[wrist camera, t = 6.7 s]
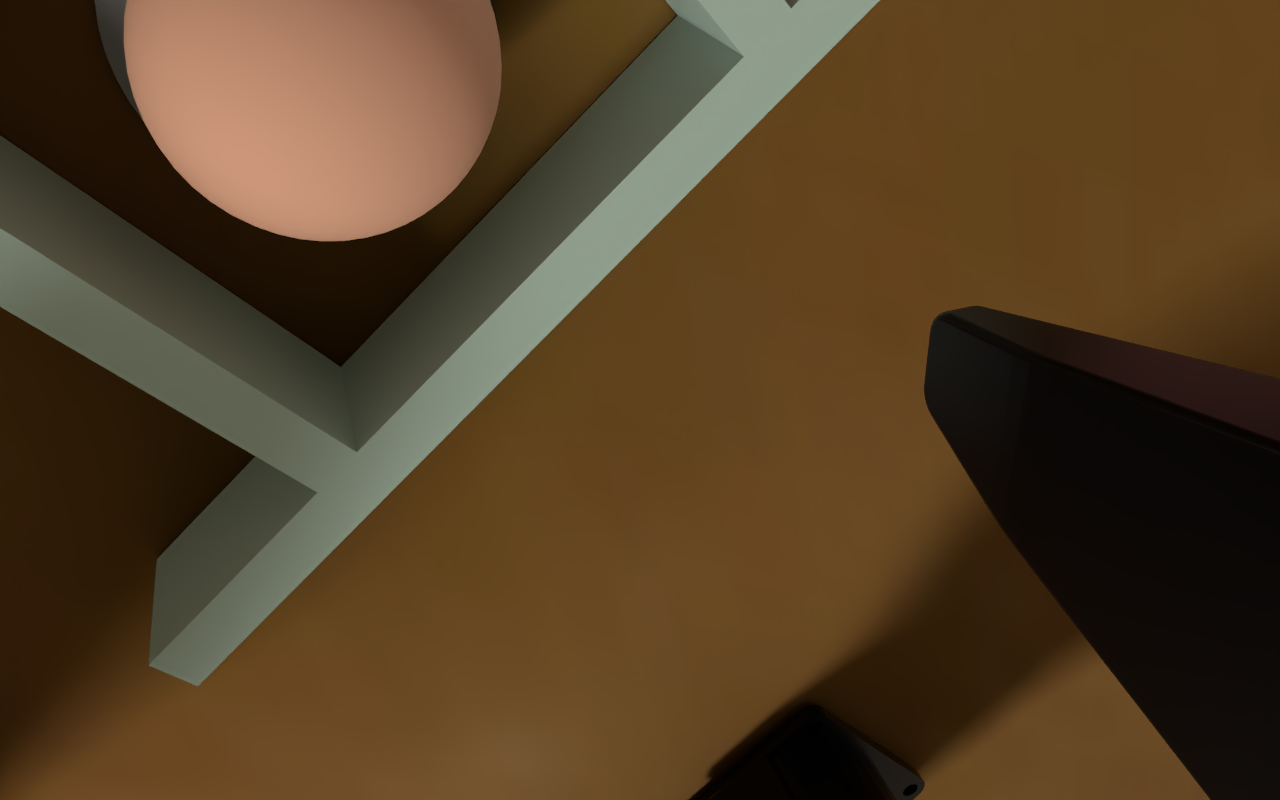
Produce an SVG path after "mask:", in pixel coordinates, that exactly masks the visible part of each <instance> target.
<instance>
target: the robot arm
mask: <svg viewBox="0 0 1280 800" xmlns="http://www.w3.org/2000/svg"><path fill="white" fill-rule="evenodd" d="M924 393H925V400H926V404H927V407H928V409H929V411H930V413H931V415H932V417H933V419H934V420H935V422H936V424H937V425H938V427H939V428H940V430H941V432H942V433H943V435H944V437H945V438H946V440H947V442H948V443H949V445H950V446H951V448H952V450H953V451H954V453H955V455H956V456H957V458H958V460H959V461H960V463H961V464H962V466H963V468H964V469H965V471H966V473H967V474H968V476H969V478H970V479H971V481H972V482H973V484H974V486H975V487H976V489H977V491H978V492H979V494H980V496H981V497H982V499H983V501H984V502H985V504H986V505H987V507H988V509H989V510H990V512H991V513H992V515H993V516H994V518H995V519H996V521H997V522H998V524H999V525H1000V527H1001V528H1002V530H1003V531H1004V533H1005V534H1006V535H1007V537H1008V538H1009V539H1010V541H1011V542H1012V544H1013V545H1014V546H1015V548H1016V549H1017V550H1018V552H1019V553H1020V554H1021V555H1022V557H1023V558H1024V559H1025V561H1026V562H1027V563H1028V565H1029V566H1030V567H1031V568H1032V570H1033V571H1034V572H1035V574H1036V575H1037V576H1038V577H1039V579H1040V580H1041V581H1042V583H1043V584H1044V585H1045V586H1046V588H1047V589H1048V590H1049V592H1050V593H1051V594H1052V596H1053V597H1054V598H1055V599H1056V601H1057V602H1058V603H1059V605H1060V606H1061V607H1062V608H1063V610H1064V611H1065V612H1066V614H1067V615H1068V616H1069V617H1070V619H1071V620H1072V621H1073V623H1074V624H1075V625H1076V627H1077V628H1078V629H1079V630H1080V632H1081V633H1082V634H1083V636H1084V637H1085V638H1086V639H1087V641H1088V642H1089V643H1090V645H1091V646H1092V647H1093V648H1094V650H1095V651H1096V652H1097V654H1098V655H1099V656H1100V658H1101V659H1102V660H1103V661H1104V663H1105V664H1106V665H1107V667H1108V668H1109V669H1110V670H1111V672H1112V673H1113V674H1114V676H1115V677H1116V678H1117V679H1118V681H1119V682H1120V683H1121V685H1122V686H1123V687H1124V689H1125V690H1126V691H1127V692H1128V694H1129V695H1130V696H1131V698H1132V699H1133V700H1134V701H1135V703H1136V704H1137V705H1138V707H1139V708H1140V709H1141V710H1142V712H1143V713H1144V714H1145V716H1146V717H1147V718H1148V720H1149V721H1150V722H1151V723H1152V725H1153V726H1154V727H1155V729H1156V730H1157V731H1158V732H1159V734H1160V735H1161V736H1162V738H1163V739H1164V740H1165V741H1166V743H1167V744H1168V745H1169V747H1170V748H1171V749H1172V751H1173V752H1174V753H1175V754H1176V756H1177V757H1178V758H1179V760H1180V761H1181V762H1182V763H1183V765H1184V766H1185V767H1186V769H1187V770H1188V771H1189V772H1190V774H1191V775H1192V776H1193V778H1194V779H1195V780H1196V782H1197V783H1198V784H1199V785H1200V787H1201V788H1202V789H1203V791H1204V792H1205V793H1206V794H1207V796H1208V797H1209V798H1210V800H1280V379H1278V378H1274V377H1269V376H1265V375H1261V374H1257V373H1253V372H1249V371H1245V370H1241V369H1237V368H1232V367H1228V366H1224V365H1220V364H1216V363H1212V362H1208V361H1204V360H1200V359H1195V358H1191V357H1187V356H1183V355H1179V354H1175V353H1171V352H1167V351H1162V350H1158V349H1154V348H1150V347H1146V346H1142V345H1138V344H1134V343H1130V342H1125V341H1121V340H1117V339H1113V338H1109V337H1105V336H1101V335H1097V334H1093V333H1088V332H1084V331H1080V330H1076V329H1072V328H1068V327H1064V326H1060V325H1056V324H1051V323H1047V322H1043V321H1039V320H1035V319H1031V318H1027V317H1023V316H1019V315H1014V314H1010V313H1006V312H1002V311H998V310H994V309H990V308H986V307H982V306H970V307H965V308H960V309H956V310H951V311H946V312H943V313H940V314H939V315H938V316H937V317H936V318H935V319H934V321H933V323H932V326H931V331H930V338H929V347H928V356H927V365H926V374H925V383H924ZM924 784H925V783H924V781H923V780H922V778H921V777H920V775H919V774H918V772H917V771H916V770H915V769H914V768H912V767H911V766H909V765H908V764H906V763H905V762H903V761H902V760H900V759H899V758H897V757H896V756H894V755H893V754H891V753H890V752H888V751H887V750H885V749H884V748H882V747H881V746H879V745H878V744H876V743H875V742H873V741H872V740H870V739H869V738H867V737H866V736H864V735H863V734H861V733H860V732H858V731H857V730H855V729H854V728H852V727H851V726H849V725H848V724H846V723H845V722H843V721H842V720H840V719H839V718H837V717H836V716H834V715H833V714H831V713H830V712H828V711H827V710H825V709H824V708H822V707H821V706H818V705H810V706H807V707H805V708H803V709H801V710H800V711H799V712H797V713H796V714H795V715H794V716H793V717H792V718H791V719H789V720H788V721H787V722H786V723H785V724H784V725H783V726H781V727H780V728H779V729H778V730H777V731H776V732H775V733H774V734H772V735H771V736H770V737H769V738H768V739H767V740H766V741H764V742H763V743H762V744H761V745H760V746H759V747H758V748H757V749H755V750H754V751H753V752H752V753H751V754H750V755H749V756H747V757H746V758H745V759H744V760H743V761H742V762H741V763H740V764H738V765H737V766H736V767H735V768H734V769H733V770H732V771H730V772H729V773H728V774H727V775H726V776H725V777H724V778H723V779H721V780H720V781H719V782H718V783H717V784H716V785H715V786H713V787H712V788H711V789H710V790H709V791H708V792H707V793H705V794H704V795H703V796H702V797H701V798H700V799H699V800H913V799H914V798H915V797H917V796H918V795H919V794H920V793H921V792H922V790H923V788H924Z"/></svg>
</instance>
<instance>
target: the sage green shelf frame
mask: <svg viewBox="0 0 1280 800" xmlns="http://www.w3.org/2000/svg"><path fill="white" fill-rule="evenodd" d="M665 1H666V2H667V3H668V4H669V6H670V7H671V8H672V9H673V10H674V11H675V13H676V14H677V16H676V18H675V19H674V20H673V21H672V22H671V23H670V24H669V25H668V26H667V27H666V28H665V29H664V30H663V31H662V32H661V33H660V34H659V35H658V36H657V37H656V38H655V39H654V40H653V42H652V43H651V44H650V45H649V46H648V47H647V48H646V49H645V50H644V51H643V52H642V53H641V54H640V55H639V56H638V57H637V58H636V59H635V60H634V61H633V62H632V63H631V65H630V66H629V67H628V68H627V69H626V70H625V71H624V72H623V73H622V74H621V75H620V76H619V77H618V78H617V79H616V80H615V81H614V82H613V83H612V84H611V85H610V86H609V87H608V89H607V90H606V91H605V92H604V93H603V94H602V95H601V96H600V97H599V98H598V99H597V100H596V101H595V102H594V103H593V104H592V105H591V106H590V107H589V108H588V109H587V110H586V112H585V113H584V114H583V115H582V116H581V117H580V118H579V119H578V120H577V121H576V122H575V123H574V124H573V125H572V126H571V127H570V128H569V129H568V130H567V131H566V132H565V133H564V134H563V136H562V137H561V138H560V139H559V140H558V141H557V142H556V143H555V144H554V145H553V146H552V147H551V148H550V149H549V150H548V151H547V152H546V153H545V154H544V155H543V156H542V157H541V158H540V160H539V161H538V162H537V163H536V164H535V165H534V166H533V167H532V168H531V169H530V170H529V171H528V172H527V173H526V174H525V175H524V176H523V177H522V178H521V179H520V180H519V181H518V183H517V184H516V185H515V186H514V187H513V188H512V189H511V190H510V191H509V192H508V193H507V194H506V195H505V196H504V197H503V198H502V199H501V200H500V201H499V202H498V203H497V204H496V205H495V207H494V208H493V209H492V210H491V211H490V212H489V213H488V214H487V215H486V216H485V217H484V218H483V219H482V220H481V221H480V222H479V223H478V224H477V225H476V226H475V227H474V228H473V230H472V231H471V232H470V233H469V234H468V235H467V236H466V237H465V238H464V239H463V240H462V241H461V242H460V243H459V244H458V245H457V246H456V247H455V248H454V249H453V250H452V251H451V252H450V254H449V255H448V256H447V257H446V258H445V259H444V260H443V261H442V262H441V263H440V264H439V265H438V266H437V267H436V268H435V269H434V270H433V271H432V272H431V273H430V274H429V275H428V276H427V278H426V279H425V280H424V281H423V282H422V283H421V284H420V285H419V286H418V287H417V288H416V289H415V290H414V291H413V292H412V293H411V294H410V295H409V296H408V297H407V298H406V299H405V301H404V302H403V303H402V304H401V305H400V306H399V307H398V308H397V309H396V310H395V311H394V312H393V313H392V314H391V315H390V316H389V317H388V318H387V319H386V320H385V321H384V322H383V323H382V325H381V326H380V327H379V328H378V329H377V330H376V331H375V332H374V333H373V334H372V335H371V336H370V337H369V338H368V339H367V340H366V341H365V342H364V343H363V344H362V345H361V346H360V348H359V349H358V350H357V351H356V352H355V353H354V354H353V355H352V356H351V357H350V358H349V359H348V360H347V361H346V362H345V363H344V364H343V365H342V366H341V367H340V366H339V365H337V364H336V363H334V362H333V361H331V360H330V359H328V358H327V357H325V356H324V355H322V354H321V353H319V352H318V351H317V350H315V349H314V348H312V347H311V346H309V345H308V344H306V343H305V342H303V341H302V340H300V339H299V338H297V337H296V336H294V335H293V334H292V333H290V332H289V331H287V330H286V329H284V328H283V327H281V326H280V325H278V324H277V323H275V322H274V321H272V320H271V319H269V318H268V317H267V316H265V315H264V314H262V313H261V312H259V311H258V310H256V309H255V308H253V307H252V306H250V305H249V304H247V303H246V302H244V301H243V300H242V299H240V298H239V297H237V296H236V295H234V294H233V293H231V292H230V291H228V290H227V289H225V288H224V287H222V286H221V285H219V284H218V283H217V282H215V281H214V280H212V279H211V278H209V277H208V276H206V275H205V274H203V273H202V272H200V271H199V270H197V269H196V268H194V267H193V266H192V265H190V264H189V263H187V262H186V261H184V260H183V259H181V258H180V257H178V256H177V255H175V254H174V253H172V252H171V251H169V250H168V249H167V248H165V247H164V246H162V245H161V244H159V243H158V242H156V241H155V240H153V239H152V238H150V237H149V236H147V235H146V234H144V233H143V232H142V231H140V230H139V229H137V228H136V227H134V226H133V225H131V224H130V223H128V222H127V221H125V220H124V219H122V218H121V217H119V216H118V215H116V214H115V213H114V212H112V211H111V210H109V209H108V208H106V207H105V206H103V205H102V204H100V203H99V202H97V201H96V200H94V199H93V198H91V197H90V196H89V195H87V194H86V193H84V192H83V191H81V190H80V189H78V188H77V187H75V186H74V185H72V184H71V183H69V182H68V181H66V180H65V179H64V178H62V177H61V176H59V175H58V174H56V173H55V172H53V171H52V170H50V169H49V168H47V167H46V166H44V165H43V164H41V163H40V162H39V161H37V160H36V159H34V158H33V157H31V156H30V155H28V154H27V153H25V152H24V151H22V150H21V149H19V148H18V147H16V146H15V145H14V144H12V143H11V142H9V141H8V140H6V139H5V138H3V137H2V136H0V307H1V308H3V309H5V310H6V311H8V312H10V313H12V314H13V315H15V316H17V317H18V318H20V319H22V320H24V321H25V322H27V323H29V324H30V325H32V326H34V327H36V328H37V329H39V330H41V331H42V332H44V333H46V334H47V335H49V336H51V337H53V338H54V339H56V340H58V341H59V342H61V343H63V344H65V345H66V346H68V347H70V348H71V349H73V350H75V351H76V352H78V353H80V354H82V355H83V356H85V357H87V358H88V359H90V360H92V361H94V362H95V363H97V364H99V365H100V366H102V367H104V368H106V369H107V370H109V371H111V372H112V373H114V374H116V375H117V376H119V377H121V378H123V379H124V380H126V381H128V382H129V383H131V384H133V385H135V386H136V387H138V388H140V389H141V390H143V391H145V392H146V393H148V394H150V395H152V396H153V397H155V398H157V399H158V400H160V401H162V402H164V403H165V404H167V405H169V406H170V407H172V408H174V409H176V410H177V411H179V412H181V413H182V414H184V415H186V416H187V417H189V418H191V419H193V420H194V421H196V422H198V423H199V424H201V425H203V426H205V427H206V428H208V429H210V430H211V431H213V432H215V433H216V434H218V435H220V436H222V437H223V438H225V439H227V440H228V441H230V442H232V443H234V444H235V445H237V446H239V447H240V448H242V449H244V450H245V451H247V452H249V453H251V454H252V455H254V456H255V457H254V458H253V459H252V460H251V461H250V462H249V463H248V464H247V466H246V467H245V468H244V469H243V470H242V471H241V472H240V473H239V474H238V475H237V476H236V477H235V478H234V479H233V480H232V481H231V482H230V483H229V484H228V485H227V486H226V487H225V488H224V490H223V491H222V492H221V493H220V494H219V495H218V496H217V497H216V498H215V499H214V500H213V501H212V502H211V503H210V504H209V505H208V506H207V507H206V508H205V509H204V510H203V511H202V512H201V514H200V515H199V516H198V517H197V518H196V519H195V520H194V521H193V522H192V523H191V524H190V525H189V526H188V527H187V528H186V529H185V530H184V531H183V532H182V533H181V534H180V535H179V537H178V538H177V539H176V540H175V541H174V542H173V543H172V544H171V545H170V546H169V547H168V548H167V549H166V550H165V551H164V552H163V553H162V554H161V555H160V556H159V557H158V558H157V562H156V574H155V587H154V600H153V613H152V625H151V638H150V651H149V664H148V666H151V667H153V668H155V669H158V670H160V671H162V672H165V673H167V674H170V675H172V676H174V677H177V678H179V679H181V680H184V681H186V682H188V683H191V684H193V685H196V686H199V685H200V684H201V683H202V682H203V681H204V680H205V679H206V678H207V677H208V676H209V675H210V674H211V673H212V672H213V671H214V670H215V669H216V668H217V667H218V666H219V665H220V664H221V663H222V662H223V661H224V660H225V659H226V657H227V656H228V655H229V654H230V653H231V652H232V651H233V650H234V649H235V648H236V647H237V646H238V645H239V644H240V643H241V642H242V641H243V640H244V639H245V638H246V637H247V636H248V635H249V634H250V633H251V632H252V631H253V630H254V629H255V628H256V627H257V626H258V625H259V624H260V623H261V622H262V621H263V620H264V619H265V618H266V617H267V616H268V615H269V614H270V613H271V612H272V611H273V610H274V609H275V608H276V607H277V606H278V605H279V604H280V603H281V602H282V601H283V600H284V599H285V598H286V597H287V596H288V595H289V594H290V593H291V592H292V591H293V590H294V589H295V588H296V587H297V586H298V585H299V584H300V583H301V582H302V581H303V580H304V579H305V578H306V577H307V576H308V575H309V574H310V573H311V572H312V571H313V570H314V569H315V568H316V567H317V566H318V565H319V564H320V563H321V562H322V561H323V560H324V559H325V558H326V557H327V556H328V555H329V554H330V553H331V552H332V551H333V550H334V549H335V548H336V547H337V546H338V545H339V544H340V543H341V542H342V541H343V540H344V539H345V538H346V537H347V536H348V535H349V534H350V533H351V532H352V531H353V530H354V529H355V528H356V527H357V526H358V525H359V524H360V523H361V522H362V521H363V520H364V519H365V518H366V517H367V516H368V515H369V514H370V513H371V512H372V511H373V510H374V509H375V508H376V507H377V506H378V505H379V504H380V503H381V502H382V501H383V500H384V499H385V498H386V497H387V496H388V494H389V493H390V492H391V491H392V490H393V489H394V488H395V487H396V486H397V485H398V484H399V483H400V482H401V481H402V480H403V479H404V478H405V477H406V476H407V475H408V474H409V473H410V472H411V471H412V470H413V469H414V468H415V467H416V466H417V465H418V464H419V463H420V462H421V461H422V460H423V459H424V458H425V457H426V456H427V455H428V454H429V453H430V452H431V451H432V450H433V449H434V448H435V447H436V446H437V445H438V444H439V443H440V442H441V441H442V440H443V439H444V438H445V437H446V436H447V435H448V434H449V433H450V432H451V431H452V430H453V429H454V428H455V427H456V426H457V425H458V424H459V423H460V422H461V421H462V420H463V419H464V418H465V417H466V416H467V415H468V414H469V413H470V412H471V411H472V410H473V409H474V408H475V407H476V406H477V405H478V404H479V403H480V402H481V401H482V400H483V399H484V398H485V397H486V396H487V395H488V394H489V393H490V392H491V391H492V390H493V389H494V388H495V387H496V386H497V385H498V384H499V383H500V382H501V381H502V380H503V379H504V378H505V377H506V376H507V375H508V374H509V373H510V372H511V371H512V370H513V369H514V368H515V367H516V366H517V365H518V364H519V363H520V362H521V361H522V360H523V359H524V358H525V357H526V356H527V355H528V354H529V353H530V352H531V351H532V350H533V349H534V348H535V347H536V346H537V345H538V344H539V343H540V342H541V341H542V340H543V339H544V338H545V337H546V336H547V335H548V334H549V333H550V331H551V330H552V329H553V328H554V327H555V326H556V325H557V324H558V323H559V322H560V321H561V320H562V319H563V318H564V317H565V316H566V315H567V314H568V313H569V312H570V311H571V310H572V309H573V308H574V307H575V306H576V305H577V304H578V303H579V302H580V301H581V300H582V299H583V298H584V297H585V296H586V295H587V294H588V293H589V292H590V291H591V290H592V289H593V288H594V287H595V286H596V285H597V284H598V283H599V282H600V281H601V280H602V279H603V278H604V277H605V276H606V275H607V274H608V273H609V272H610V271H611V270H612V269H613V268H614V267H615V266H616V265H617V264H618V263H619V262H620V261H621V260H622V259H623V258H624V257H625V256H626V255H627V254H628V253H629V252H630V251H631V250H632V249H633V248H634V247H635V246H636V245H637V244H638V243H639V242H640V241H641V240H642V239H643V238H644V237H645V236H646V235H647V234H648V233H649V232H650V231H651V230H652V229H653V228H654V227H655V226H656V225H657V224H658V223H659V222H660V221H661V220H662V219H663V218H664V217H665V216H666V215H667V214H668V213H669V212H670V211H671V210H672V209H673V208H674V207H675V206H676V205H677V204H678V203H679V202H680V201H681V200H682V199H683V198H684V197H685V196H686V195H687V194H688V193H689V192H690V191H691V190H692V189H693V188H694V187H695V186H696V185H697V184H698V183H699V182H700V181H701V180H702V179H703V178H704V177H705V176H706V175H707V174H708V173H709V172H710V171H711V170H712V169H713V167H714V166H715V165H716V164H717V163H718V162H719V161H720V160H721V159H722V158H723V157H724V156H725V155H726V154H727V153H728V152H729V151H730V150H731V149H732V148H733V147H734V146H735V145H736V144H737V143H738V142H739V141H740V140H741V139H742V138H743V137H744V136H745V135H746V134H747V133H748V132H749V131H750V130H751V129H752V128H753V127H754V126H755V125H756V124H757V123H758V122H759V121H760V120H761V119H762V118H763V117H764V116H765V115H766V114H767V113H768V112H769V111H770V110H771V109H772V108H773V107H774V106H775V105H776V104H777V103H778V102H779V101H780V100H781V99H782V98H783V97H784V96H785V95H786V94H787V93H788V92H789V91H790V90H791V89H792V88H793V87H794V86H795V85H796V84H797V83H798V82H799V81H800V80H801V79H802V78H803V77H804V76H805V75H806V74H807V73H808V72H809V71H810V70H811V69H812V68H813V67H814V66H815V65H816V64H817V63H818V62H819V61H820V60H821V59H822V58H823V57H824V56H825V55H826V54H827V53H828V52H829V51H830V50H831V49H832V48H833V47H834V46H835V45H836V44H837V43H838V42H839V41H840V40H841V39H842V38H843V37H844V36H845V35H846V34H847V33H848V32H849V31H850V30H851V29H852V28H853V27H854V26H855V25H856V24H857V23H858V22H859V21H860V20H861V19H862V18H863V17H864V16H865V15H866V14H867V13H868V12H869V11H870V10H871V9H872V8H873V7H874V6H875V4H876V3H877V2H878V1H879V0H665Z"/></svg>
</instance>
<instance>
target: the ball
mask: <svg viewBox="0 0 1280 800" xmlns="http://www.w3.org/2000/svg"><path fill="white" fill-rule="evenodd" d="M124 50H125V58H126V67H127V74H128V78H129V81H130V85H131V89H132V93H133V97H134V99H135V102H136V104H137V107H138V109H139V112H140V114H141V116H142V119H143V121H144V123H145V125H146V127H147V128H148V130H149V132H150V134H151V135H152V137H153V139H154V141H155V142H156V144H157V145H158V147H159V148H160V150H161V151H162V152H163V154H164V155H165V156H166V158H167V159H168V160H169V162H170V163H171V164H172V166H173V167H174V168H175V169H176V170H177V172H178V173H179V174H180V175H181V176H182V177H183V178H184V179H185V180H186V181H187V182H188V183H189V184H190V185H191V186H192V187H193V188H194V189H196V190H197V191H198V192H199V193H200V194H202V195H203V196H204V197H205V198H207V199H208V200H209V201H210V202H212V203H213V204H215V205H216V206H218V207H220V208H221V209H223V210H224V211H226V212H227V213H229V214H231V215H232V216H235V217H237V218H239V219H241V220H243V221H245V222H247V223H249V224H251V225H253V226H256V227H258V228H261V229H264V230H267V231H270V232H273V233H276V234H279V235H283V236H288V237H292V238H297V239H303V240H314V241H347V240H354V239H361V238H367V237H371V236H375V235H378V234H382V233H386V232H388V231H391V230H393V229H396V228H398V227H401V226H403V225H406V224H408V223H409V222H411V221H413V220H415V219H417V218H418V217H420V216H422V215H424V214H425V213H427V212H428V211H429V210H431V209H432V208H433V207H435V206H436V205H438V204H439V203H440V202H441V201H442V200H444V199H445V198H446V197H447V196H448V195H449V194H450V193H451V192H452V191H453V190H454V189H455V188H456V187H457V186H458V185H459V183H460V182H461V181H462V180H463V178H464V177H465V176H466V175H467V174H468V172H469V171H470V169H471V168H472V166H473V164H474V163H475V161H476V160H477V158H478V157H479V155H480V153H481V151H482V149H483V147H484V145H485V142H486V140H487V138H488V136H489V134H490V131H491V128H492V125H493V122H494V119H495V115H496V112H497V108H498V102H499V97H500V91H501V75H502V61H501V49H500V39H499V34H498V29H497V24H496V19H495V14H494V12H493V9H492V6H491V3H490V0H127V2H126V8H125V14H124Z"/></svg>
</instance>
